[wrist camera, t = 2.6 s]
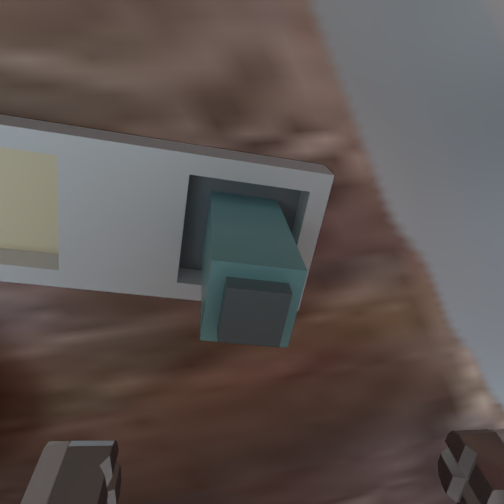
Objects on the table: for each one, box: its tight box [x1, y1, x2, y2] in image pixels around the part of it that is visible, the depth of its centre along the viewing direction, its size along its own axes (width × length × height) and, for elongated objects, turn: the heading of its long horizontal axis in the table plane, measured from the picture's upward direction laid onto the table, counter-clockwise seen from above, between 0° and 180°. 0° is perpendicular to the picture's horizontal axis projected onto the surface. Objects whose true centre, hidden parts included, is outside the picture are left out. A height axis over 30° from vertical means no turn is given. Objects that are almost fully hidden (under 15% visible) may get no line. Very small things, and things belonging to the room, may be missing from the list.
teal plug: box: [200, 191, 308, 348], centre depth 20 cm, size 4×4×9 cm
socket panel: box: [0, 114, 334, 311], centre depth 22 cm, size 8×20×2 cm, turn 80°
